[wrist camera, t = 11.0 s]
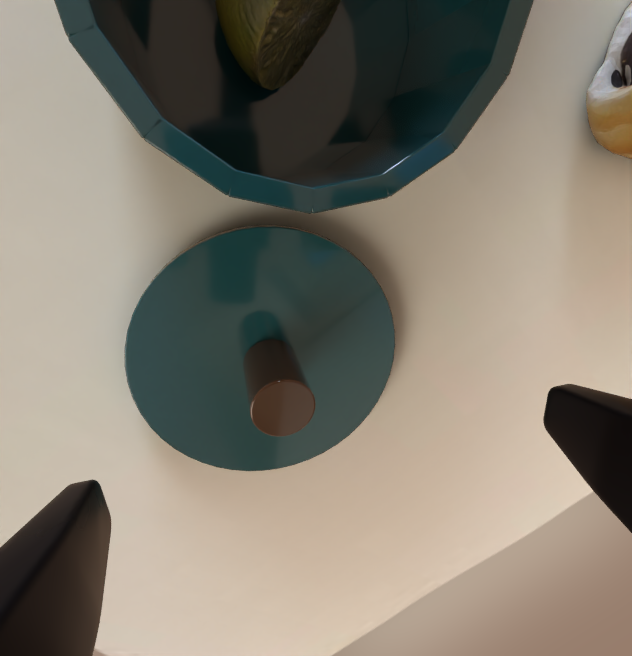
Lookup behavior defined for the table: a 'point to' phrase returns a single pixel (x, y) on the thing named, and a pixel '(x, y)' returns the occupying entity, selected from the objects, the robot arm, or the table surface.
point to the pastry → (614, 93)
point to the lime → (273, 35)
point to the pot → (303, 92)
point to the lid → (259, 348)
